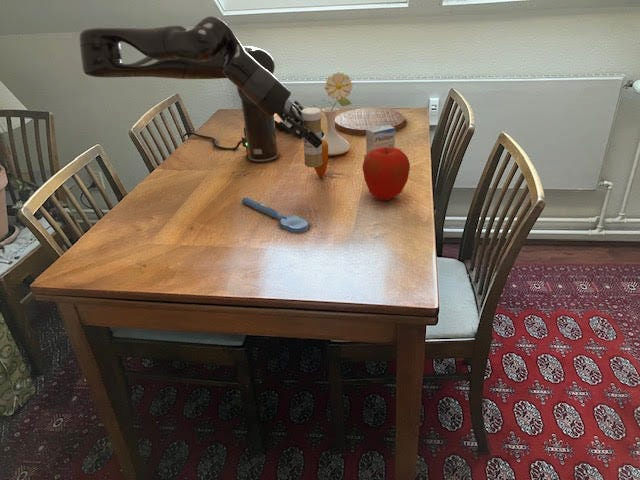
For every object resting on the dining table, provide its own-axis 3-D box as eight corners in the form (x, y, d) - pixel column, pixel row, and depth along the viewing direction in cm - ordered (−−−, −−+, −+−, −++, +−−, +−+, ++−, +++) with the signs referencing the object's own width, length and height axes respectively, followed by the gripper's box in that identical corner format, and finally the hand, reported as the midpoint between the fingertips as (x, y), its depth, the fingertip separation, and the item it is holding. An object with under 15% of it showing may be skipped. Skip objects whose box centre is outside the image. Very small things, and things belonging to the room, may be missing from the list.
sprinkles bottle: (300, 165, 127) (296, 110, 120) (313, 159, 130) (310, 105, 123) (315, 169, 125) (312, 114, 118) (327, 163, 128) (325, 108, 121)
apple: (396, 211, 130) (397, 158, 123) (354, 202, 136) (353, 150, 129) (416, 192, 139) (418, 141, 132) (375, 184, 145) (375, 135, 138)
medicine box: (373, 160, 160) (373, 132, 156) (365, 155, 164) (365, 128, 159) (395, 154, 163) (395, 127, 159) (387, 150, 166) (387, 123, 162)
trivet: (408, 133, 179) (408, 128, 178) (335, 136, 180) (335, 131, 179) (400, 111, 200) (400, 106, 200) (334, 114, 201) (334, 109, 200)
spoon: (236, 206, 138) (235, 199, 137) (251, 199, 141) (250, 193, 140) (296, 235, 123) (296, 228, 122) (312, 227, 126) (312, 220, 125)
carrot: (327, 182, 148) (325, 130, 140) (310, 181, 149) (307, 130, 141) (331, 175, 152) (328, 124, 144) (314, 174, 153) (311, 124, 145)
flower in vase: (308, 156, 165) (303, 75, 152) (322, 144, 174) (318, 66, 161) (348, 161, 161) (345, 77, 148) (359, 147, 170) (358, 68, 157)
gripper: (261, 94, 127) (313, 141, 132) (248, 112, 115) (307, 163, 120) (281, 71, 124) (334, 120, 129) (270, 87, 112) (329, 141, 116)
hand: (320, 141), depth 124 cm, fingers closed on sprinkles bottle, 4 cm apart
